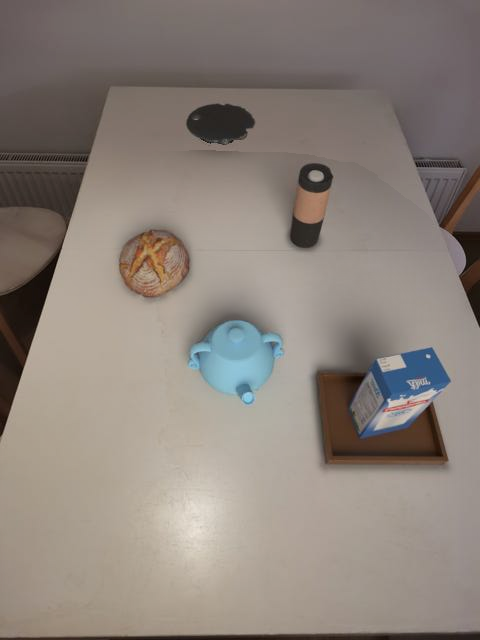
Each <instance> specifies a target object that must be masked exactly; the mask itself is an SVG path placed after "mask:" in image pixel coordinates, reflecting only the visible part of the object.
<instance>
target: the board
mask: <svg viewBox="0 0 480 640" xmlns="http://www.w3.org/2000/svg"><path fill="white" fill-rule="evenodd" d="M195 119H198V120H195ZM185 125H186V126H185V127H186V129H187V130H188V132H189V133H190V134H191V135H192V136H194V137H196V138H197V137H198V138H200V139H201V140H203V141H205V142H207V143H210V144H211V143H218V144H222V145H227V144H229V143H232V142H233V141H234V140H241V141H244V140H245V139H246V138H247V137H248V134H249V133H248V132H249V131H248V130H250V129H254V128H255V126H256V120H255V118H254V117H253V115H252V114H251V112H250V111H248V110H247V109H246V108H245V107H242V106H240V105H235V104H231V103H225V104H222V103H218V102H217V103H209V104H204V105H201V106H198V107H197V108H196V109H194V110H192V111H191V113H189V114H188V116H187V119H186V123H185ZM198 138H197V139H198ZM200 139H199V140H200ZM201 140H200V141H201Z"/></svg>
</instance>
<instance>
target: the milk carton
mask: <svg viewBox="0 0 480 640" xmlns="http://www.w3.org/2000/svg"><path fill="white" fill-rule="evenodd" d="M366 373H367V375H366V377H365V378H364V380H363V382H362V384H361V385H360V387H359V389H358V391H357V393H356V394H355V396H354V398H353V400H352V401H351V403H350V405H349V407H348V411H349V414H350V416H351V419H352V421H353V424H354V426H355V429H356V431H357V434H358V436H359V439H361V438H365V437H370V436H374V435H378V434H383V433H387V432H391V431H395V430H400V429H404V428H408V427H409V425H410V424H411V423H412V422H413V421H414V420H415V419H416V418H417V417H418V416H419V415H420V414H421V413H422V412H423V411H424V410H425V408H426V407H427V406H428V405H429V404H430V403H431V402H432V401H433V402H434V400H435V399H436V398H437V397H438V396H439V395H440V394H441V393H442V392H443V391H444V390H445V389H446V388H447V386H448V385H449V384H450V383H451V382H452V380H451V378H450V376H449V374H448V373H447V371H446V370H445V367H444V366H443V364H442V362H441V360H440V359H439V357H438V355H437V353H436V351H435V349H434V347H433V346H431V347H425V348H422V349H421V348H420V349H416V350H412V351H406V352H402V353H397V354H392V355H386V356H383V357H382V356H381V357H378V358H375V359H374V361H373V362H372V364H371V366H370V368H369V369H368V371H367V372H366Z"/></svg>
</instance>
